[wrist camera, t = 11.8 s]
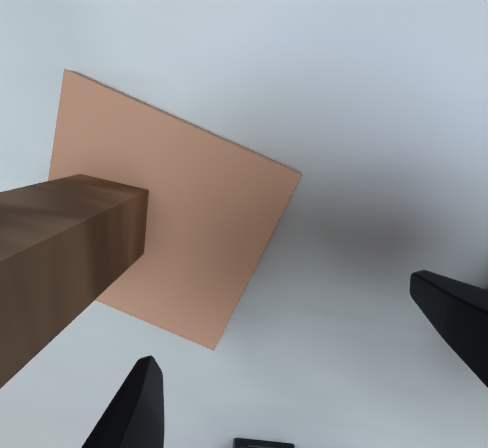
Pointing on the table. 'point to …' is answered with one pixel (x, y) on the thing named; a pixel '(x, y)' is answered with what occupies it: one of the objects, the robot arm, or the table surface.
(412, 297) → the robot arm
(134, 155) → the terracotta mat
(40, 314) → the walnut block
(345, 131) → the table surface
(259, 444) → the small box
